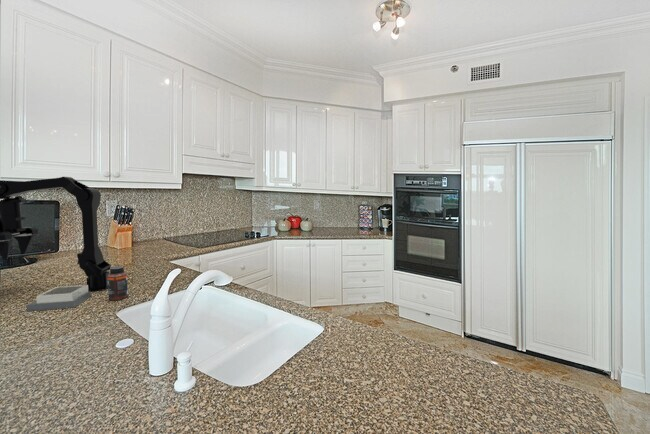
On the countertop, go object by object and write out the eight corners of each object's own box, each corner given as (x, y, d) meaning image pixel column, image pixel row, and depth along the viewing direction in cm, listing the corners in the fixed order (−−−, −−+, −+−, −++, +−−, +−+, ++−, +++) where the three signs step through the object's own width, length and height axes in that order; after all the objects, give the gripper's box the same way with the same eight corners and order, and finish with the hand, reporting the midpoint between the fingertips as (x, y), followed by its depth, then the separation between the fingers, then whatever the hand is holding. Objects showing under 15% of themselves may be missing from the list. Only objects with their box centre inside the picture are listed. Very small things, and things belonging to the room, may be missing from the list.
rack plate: (91, 296, 111) (90, 284, 111) (74, 307, 100) (73, 294, 100) (49, 299, 108) (48, 287, 108) (27, 311, 97) (25, 297, 97)
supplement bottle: (132, 295, 112) (130, 265, 111) (120, 301, 106) (118, 269, 105) (117, 294, 113) (115, 265, 112) (104, 300, 107) (102, 269, 106)
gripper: (2, 213, 118) (6, 253, 119) (-41, 217, 100) (-36, 263, 101) (37, 212, 121) (40, 251, 122) (1, 216, 103) (6, 261, 104)
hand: (14, 256), depth 112 cm, fingers open, 9 cm apart
